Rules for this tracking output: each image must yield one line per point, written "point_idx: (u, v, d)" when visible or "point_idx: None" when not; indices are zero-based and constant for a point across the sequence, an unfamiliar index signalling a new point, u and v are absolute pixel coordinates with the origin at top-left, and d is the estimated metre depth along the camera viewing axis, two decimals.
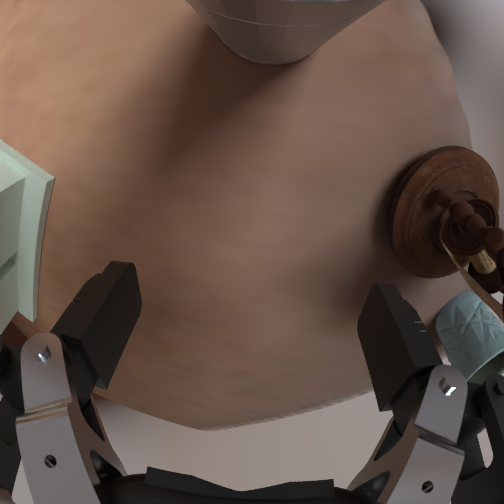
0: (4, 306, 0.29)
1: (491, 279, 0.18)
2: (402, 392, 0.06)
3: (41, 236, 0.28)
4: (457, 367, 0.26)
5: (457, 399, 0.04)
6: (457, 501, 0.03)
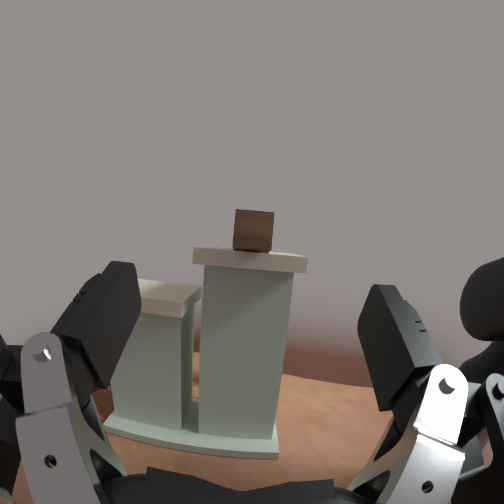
0: (143, 404, 0.38)
1: None
2: (402, 392, 0.06)
3: (221, 454, 0.35)
4: None
5: (457, 399, 0.04)
6: (457, 501, 0.03)
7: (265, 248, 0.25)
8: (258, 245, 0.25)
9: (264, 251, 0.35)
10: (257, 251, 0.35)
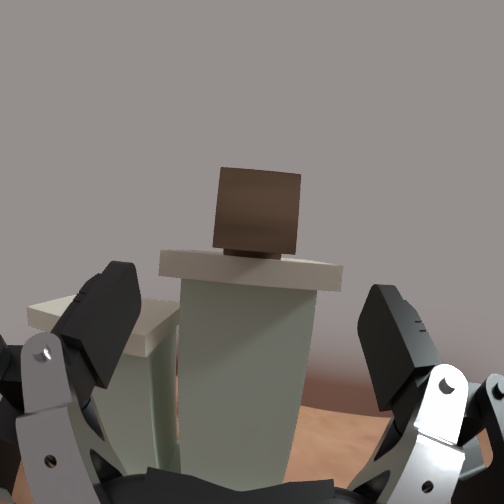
0: None
1: None
2: (402, 392, 0.06)
3: None
4: None
5: (457, 399, 0.04)
6: (457, 501, 0.03)
7: (283, 249, 0.11)
8: (268, 243, 0.12)
9: (274, 256, 0.22)
10: (262, 256, 0.22)
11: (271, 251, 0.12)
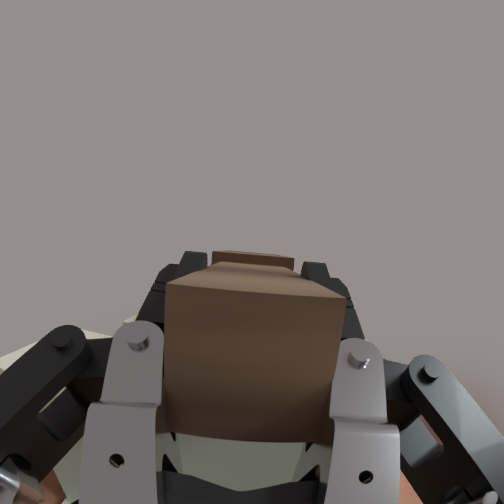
0: None
1: None
2: None
3: None
4: None
5: (365, 374, 0.05)
6: (420, 485, 0.04)
7: (297, 438, 0.05)
8: (271, 431, 0.05)
9: None
10: None
11: (275, 441, 0.05)
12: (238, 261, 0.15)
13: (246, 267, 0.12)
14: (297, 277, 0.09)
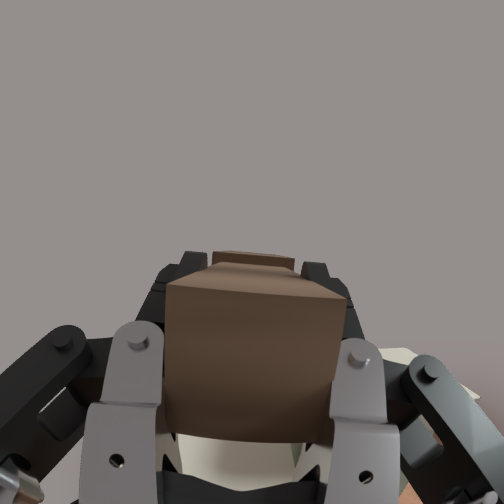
0: None
1: None
2: None
3: None
4: None
5: (365, 374, 0.05)
6: (420, 485, 0.04)
7: (298, 438, 0.05)
8: (271, 431, 0.05)
9: None
10: None
11: (276, 441, 0.05)
12: (238, 261, 0.15)
13: (246, 267, 0.12)
14: (297, 277, 0.09)
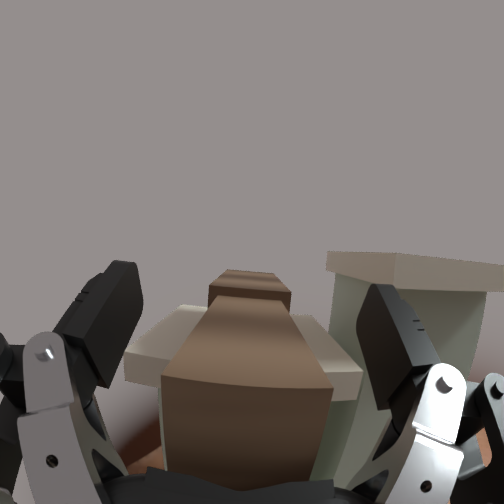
0: None
1: None
2: (400, 391, 0.06)
3: None
4: None
5: (455, 398, 0.04)
6: (456, 500, 0.03)
7: None
8: (262, 486, 0.05)
9: None
10: None
11: None
12: (235, 295, 0.15)
13: (242, 310, 0.12)
14: (291, 332, 0.09)
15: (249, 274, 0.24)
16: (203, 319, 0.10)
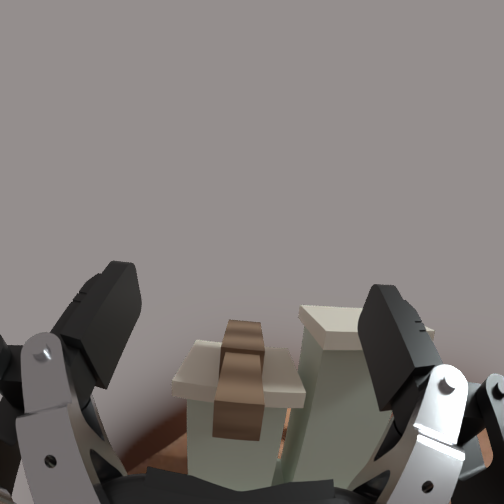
0: (228, 482, 0.30)
1: None
2: (402, 392, 0.06)
3: None
4: None
5: (457, 399, 0.04)
6: (457, 501, 0.03)
7: (252, 439, 0.17)
8: (244, 436, 0.17)
9: None
10: None
11: (245, 439, 0.17)
12: (234, 352, 0.27)
13: (238, 365, 0.24)
14: (258, 380, 0.21)
15: (243, 327, 0.36)
16: (221, 373, 0.21)
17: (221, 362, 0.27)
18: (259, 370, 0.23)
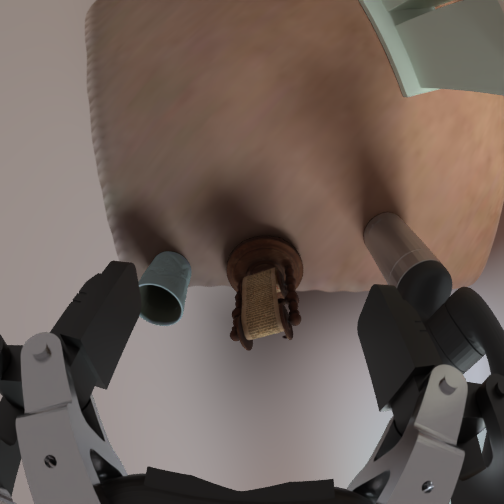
0: None
1: None
2: (402, 392, 0.06)
3: (385, 50, 0.34)
4: (164, 277, 0.47)
5: (457, 399, 0.04)
6: (457, 501, 0.03)
7: None
8: None
9: None
10: None
11: None
12: None
13: None
14: None
15: None
16: None
17: None
18: None
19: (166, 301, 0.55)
